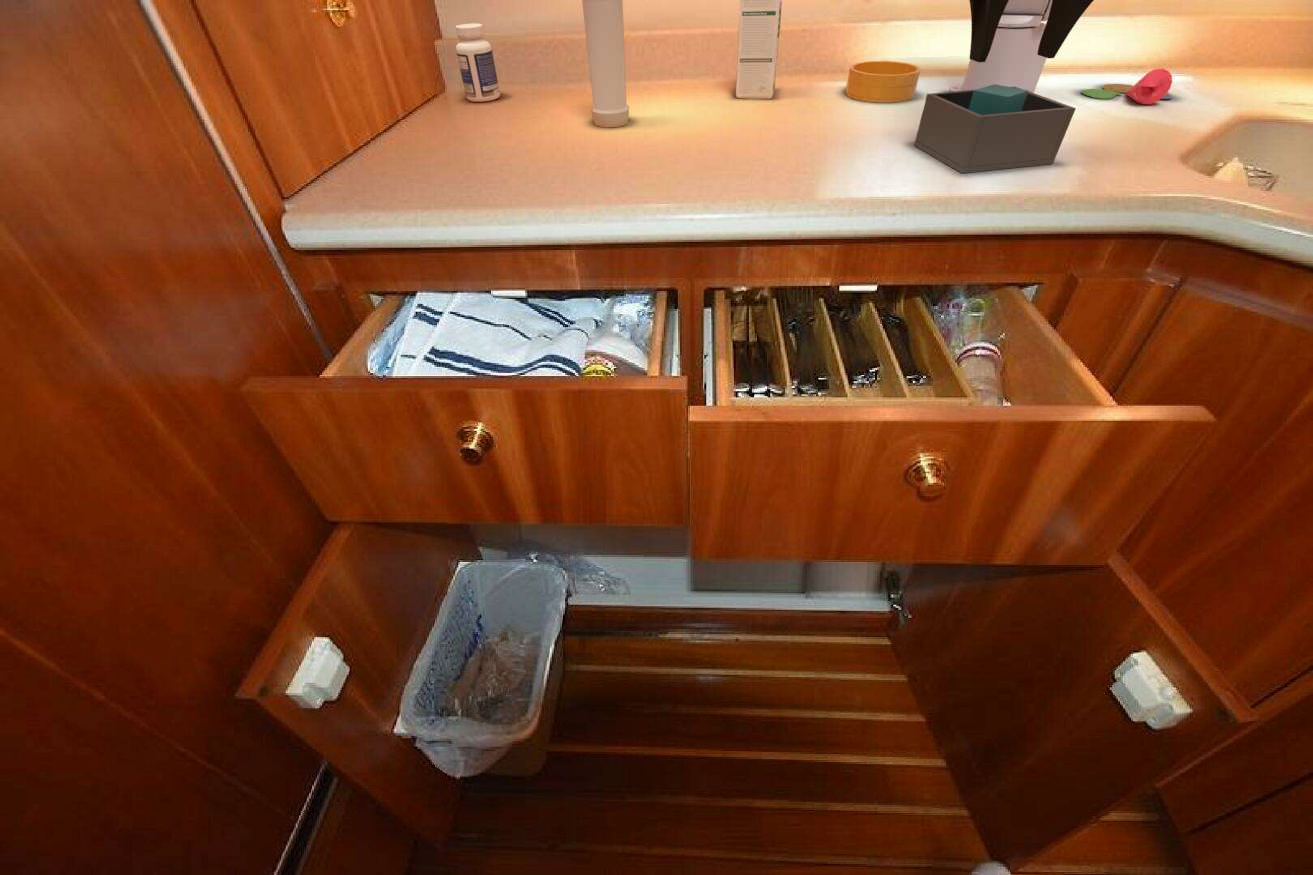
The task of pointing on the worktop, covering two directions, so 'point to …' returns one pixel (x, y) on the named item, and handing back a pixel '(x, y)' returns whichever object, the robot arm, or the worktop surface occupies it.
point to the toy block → (997, 100)
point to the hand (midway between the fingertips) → (1011, 58)
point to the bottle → (606, 61)
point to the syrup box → (757, 48)
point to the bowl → (882, 81)
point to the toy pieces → (1138, 88)
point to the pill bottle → (476, 64)
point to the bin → (991, 132)
